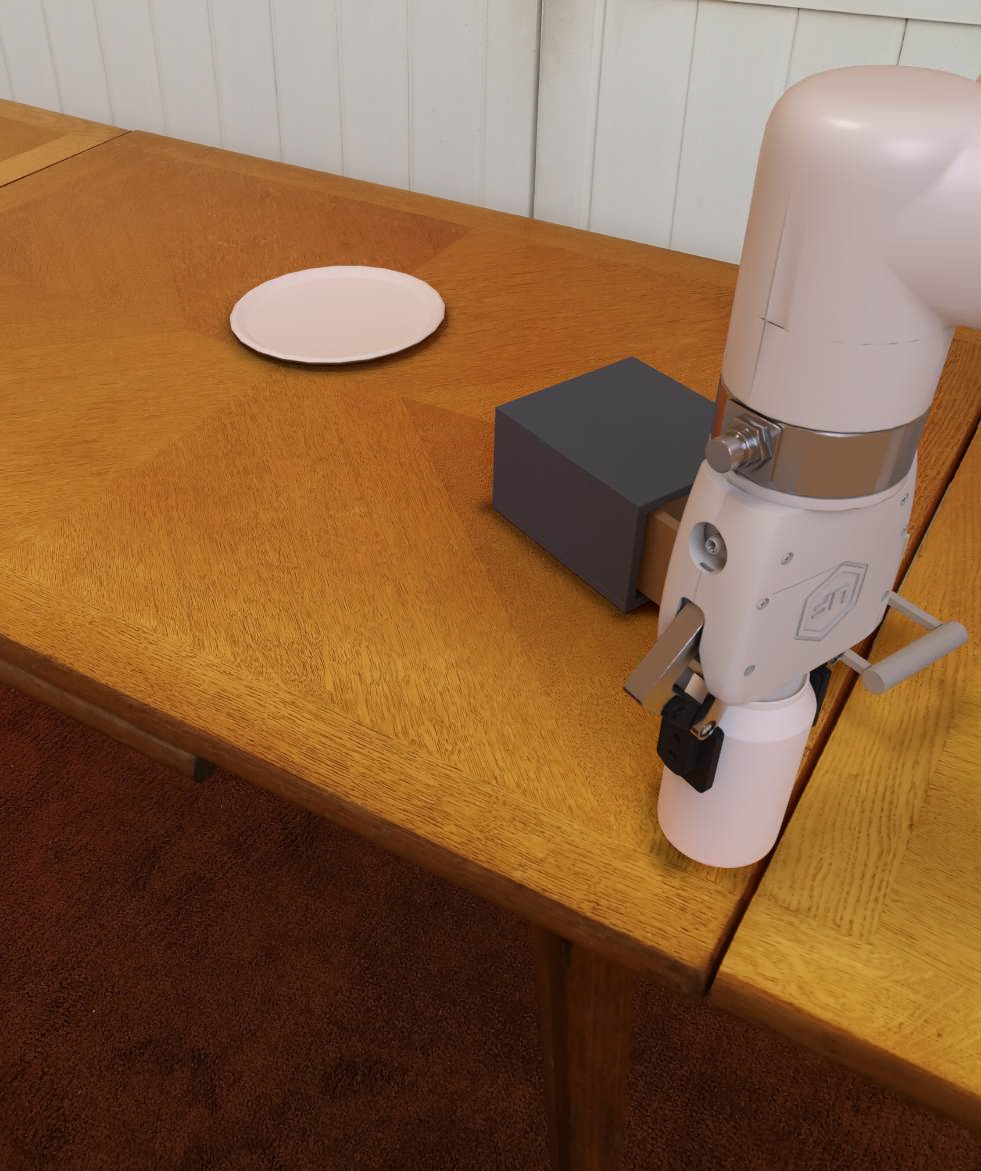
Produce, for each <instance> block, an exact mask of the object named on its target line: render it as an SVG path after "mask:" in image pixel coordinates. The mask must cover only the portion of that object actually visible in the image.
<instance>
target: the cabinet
mask: <svg viewBox="0 0 981 1171" xmlns="http://www.w3.org/2000/svg"><path fill="white" fill-rule="evenodd" d="M714 408H715V401H713V400H711V399H709V398H707V397H706V396H704V395H702V394H700V393H699V392H697V391H695V390H694V389H691V388H690V387H688V386H686V385H684V384H683V383H681V382H679V381H677V380H675V379H674V378H672V377H670V376H668V375H667V374H665V373H663V372H662V371H660V370H659V369H657V368H655V367H652V366H651V365H650V364H647V363H645V362H644V361H642V360H640V359H638V358H637V357H635V356H629V357H626V358H624V359H621V360H618V361H616V362H613V363H610V364H607V365H605V366H602V367H599V368H597V369H594V370H591V371H589V372H586V373H583V374H580V375H578V376H575V377H572V378H570V379H567V380H564V381H562V382H561V381H560V382H558V383H556V384H554V385H551V386H547V387H545V388H543V389H540V390H537V391H534V392H532V393H529V394H526V395H523V396H521V397H518V398H515V399H513V400H510V401H507V402H505V403H502V404H499V405H497V406H495V408H494V430H493V431H494V433H493V435H494V436H493V439H494V440H493V464H492V465H493V466H492V468H493V470H492V508H493V509H494V510H495V511H496V512H498V514H500V515H501V516H503V518H505V520H508V522H510V523H511V524H512V525H514V526H515V527H516V528H517V529H519V530H520V531H521V532H522V533H524V534H525V535H526V536H527V537H529V538H530V539H531V540H532V541H533V542H535V543H536V544H538V545H539V546H540V547H541V548H542V549H544V550H545V551H546V552H547V553H548V554H549V555H551V556H552V557H553V558H555V559H556V560H557V561H558V562H559V563H561V564H562V565H564V567H566V568H567V569H568V570H570V571H571V572H572V573H574V574H575V575H576V576H577V577H579V578H580V579H581V580H582V581H583V582H585V583H586V584H587V585H588V586H590V587H591V588H592V589H593V590H595V591H596V592H597V593H598V594H599V595H601V596H602V597H604V598H605V599H606V600H607V601H608V602H610V603H611V604H612V605H613V606H615V607H616V608H617V609H618V610H620V611H621V612H622V613H623V614H626V613H629V612H630V611H633V610H634V609H637V608H639V607H641V606H643V605H645V604H647V603H649V602H651V601H652V600H651V599H650V598H648V597H647V596H646V595H644V594H643V593H642V592H641V591H639V590H638V589H637V581H638V574H639V567H640V560H641V553H642V546H643V539H644V532H645V525H646V518H647V513H648V512H650V511H652V510H654V509H657V508H659V507H661V506H663V505H666V504H668V503H670V502H672V501H674V500H677V499H679V498H681V497H683V496H686V495H688V494H690V492H691V490H692V487H693V484H694V482H695V479H696V476H697V474H698V471H699V469H700V466H701V463H702V462H703V461H704V460H705V459H706V456H705V448H706V444H707V443H708V442H709V437H710V430H711V425H712V419H713V413H714Z"/></svg>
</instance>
